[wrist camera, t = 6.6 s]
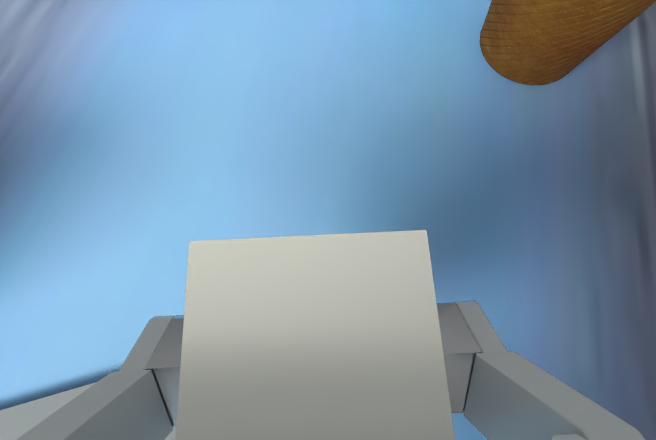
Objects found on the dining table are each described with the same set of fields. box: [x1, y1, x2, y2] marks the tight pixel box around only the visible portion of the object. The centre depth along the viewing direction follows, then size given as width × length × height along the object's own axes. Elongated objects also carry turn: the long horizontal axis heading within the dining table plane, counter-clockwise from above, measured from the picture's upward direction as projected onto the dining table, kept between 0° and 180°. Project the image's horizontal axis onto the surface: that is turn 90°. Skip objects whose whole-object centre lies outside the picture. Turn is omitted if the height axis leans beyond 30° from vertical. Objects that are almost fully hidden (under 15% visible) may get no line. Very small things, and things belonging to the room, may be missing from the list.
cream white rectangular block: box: [175, 230, 455, 440], centre depth 10 cm, size 5×5×7 cm
